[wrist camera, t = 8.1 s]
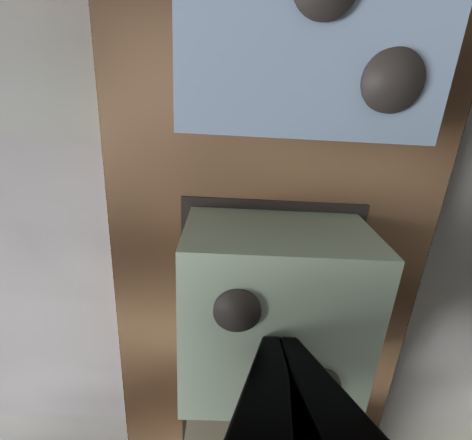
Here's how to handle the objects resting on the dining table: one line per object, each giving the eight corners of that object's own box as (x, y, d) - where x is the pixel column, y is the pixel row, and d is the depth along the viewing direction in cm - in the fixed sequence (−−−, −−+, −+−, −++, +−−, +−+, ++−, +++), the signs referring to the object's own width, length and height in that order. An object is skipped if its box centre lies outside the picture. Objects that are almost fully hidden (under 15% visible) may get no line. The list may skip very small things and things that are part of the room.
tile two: (332, 346, 12) (364, 429, 9) (190, 341, 12) (177, 423, 9) (357, 214, 10) (407, 264, 7) (191, 206, 10) (174, 255, 7)
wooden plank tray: (342, 484, 17) (352, 520, 16) (142, 479, 17) (134, 516, 15) (515, -197, 8) (576, -258, 7) (91, -231, 8) (60, -303, 6)
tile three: (374, 128, 9) (438, 147, 6) (191, 118, 9) (172, 133, 6) (419, -104, 8) (537, -225, 5) (192, -121, 7) (166, -257, 4)
